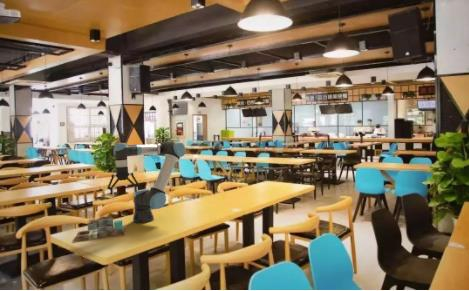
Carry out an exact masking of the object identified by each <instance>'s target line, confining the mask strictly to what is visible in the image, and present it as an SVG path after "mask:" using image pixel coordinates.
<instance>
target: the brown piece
mask: <svg viewBox="0 0 469 291" xmlns="http://www.w3.org/2000/svg"><path fill="white" fill-rule="evenodd" d="M125 230H126V229H125V225H123V229H121V230H114V219H113V218H112V219H105V220H99V228H97V229H95V230H88V229H87V230H81V231H78V232H77V234H76V236H75V242H79V241H80V242H81V241H82V242H83V241H89V240H96V239H105V238H110V237H120V236H125Z"/></svg>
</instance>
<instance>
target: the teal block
mask: <svg viewBox="0 0 469 291" xmlns="http://www.w3.org/2000/svg"><path fill="white" fill-rule="evenodd" d="M113 226H114V230H121V229H123V226H124V224H123V220H122V219H121V220H113Z"/></svg>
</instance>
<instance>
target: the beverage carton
mask: <svg viewBox="0 0 469 291" xmlns="http://www.w3.org/2000/svg"><path fill="white" fill-rule="evenodd" d="M105 219H113V217H112V216H101V217H100V218H97V219H95V220H93V221H91V222H89V223H88V224H87V230H95V229H97V228H99V220H105Z"/></svg>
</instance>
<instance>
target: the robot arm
mask: <svg viewBox="0 0 469 291" xmlns="http://www.w3.org/2000/svg"><path fill="white" fill-rule="evenodd" d="M113 153H114V157H115V172H116V174H114V173H113V174H111V178H110V180H109V183H108V185H107V187H106V188H107V190H110V195H112V200H115V190H114V187H115V186H116V184H117V183H118V182H119V181H126V180H127V181H128V182H129V183H130V184H131V185H132V186H133V205H134V208H133V209H134V213H133V217H132V222H133V223H136V224H143V223H149V222H151V221H153V220H154V218H155V217H154V214H153V212H152V210H151V209H154V210H159V209H161V208H163V207H164V206H165V205H166V202H167V196H166V194H167V193H166V188H167V186H168V184H169V183H168V182H169V181H170V178H171V176H172V173H173V171H174V168H175V166H176V164H177V162H180V159H181V158H182V157H184V156H185V154H186V147H185V144H184V143H183V142H182V141H165V142H158V143H156V142H155V143H154V144H127V143H126V142H117V143H114V148H113ZM148 155H150V156H151V155H153V156H158V157H160V156H162V157H164V158H165V159H164V161H163V163H162V165H161V168H160V170H159V173H158V175H157V177H156V180H155V182H154V185H153V186H151V187H150V188H144V189H139V190H137V189H138V188H137V187H140V184H139V182H138V181H137V179H136V177H135V175H134V173H133V172H129V166H128V157H134V156H136V157H137V156H148ZM129 176H130V177H131V178H132V180H131V179H130V177H129ZM115 178H117V179H116V180H115V181H114V182H113V180H114V179H115ZM133 181H134V182H135V183H134V182H133ZM112 182H113V184H112Z"/></svg>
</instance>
